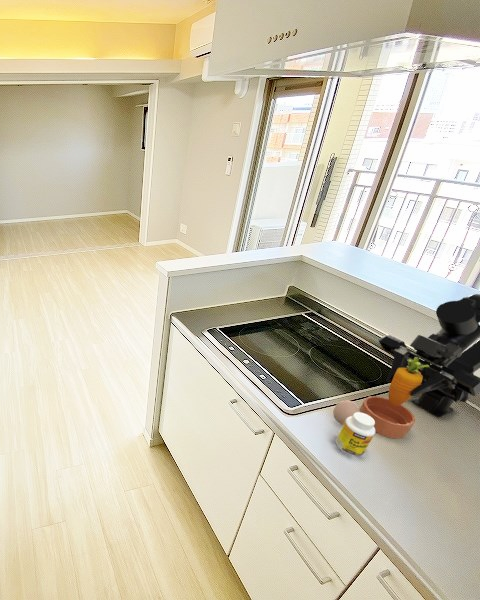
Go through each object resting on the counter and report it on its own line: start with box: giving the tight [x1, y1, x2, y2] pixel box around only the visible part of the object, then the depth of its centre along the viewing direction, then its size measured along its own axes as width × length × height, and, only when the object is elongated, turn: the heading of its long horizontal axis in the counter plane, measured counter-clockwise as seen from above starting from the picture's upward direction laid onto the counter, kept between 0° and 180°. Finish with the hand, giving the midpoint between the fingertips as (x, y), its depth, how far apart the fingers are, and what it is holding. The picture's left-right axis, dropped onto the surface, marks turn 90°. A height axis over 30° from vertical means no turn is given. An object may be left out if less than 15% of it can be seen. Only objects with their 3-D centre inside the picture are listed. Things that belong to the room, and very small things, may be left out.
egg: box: [332, 399, 360, 426], centre depth 86 cm, size 5×5×7 cm
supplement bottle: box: [335, 412, 376, 457], centre depth 79 cm, size 6×6×10 cm
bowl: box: [359, 395, 416, 439], centre depth 86 cm, size 10×10×5 cm
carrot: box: [387, 357, 429, 407], centre depth 80 cm, size 5×5×15 cm
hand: (398, 388), depth 80 cm, fingers closed on carrot, 5 cm apart
